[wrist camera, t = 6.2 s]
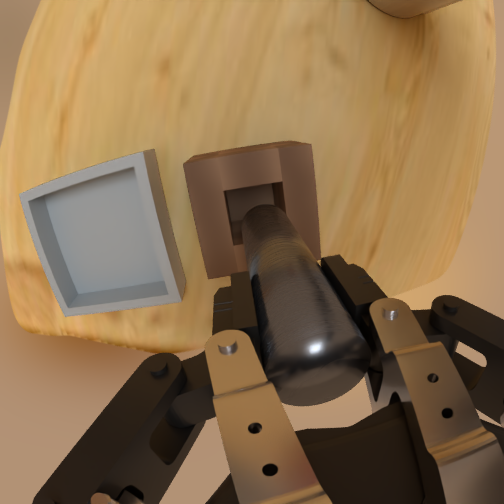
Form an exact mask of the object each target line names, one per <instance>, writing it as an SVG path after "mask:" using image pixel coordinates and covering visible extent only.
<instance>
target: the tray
mask: <svg viewBox="0 0 504 504" xmlns="http://www.w3.org/2000/svg"><path fill="white" fill-rule="evenodd" d="M19 196H20V200H21V204H22V207H23V211H24V214H25V218H26V221H27V224H28V227H29V230H30V234H31V237H32V239H33V242H34V245H35V248H36V251H37V253H38V256H39V259H40V261H41V264H42V266H43V269H44V271H45V274H46V276H47V279H48V281H49V283H50V286H51V288H52V290H53V292H54V295H55V297H56V299H57V301H58V303H59V305H60V307H61V310H62V312H63V314H64V316H65V317H67V316H77V315H86V314H94V313H103V312H111V311H119V310H127V309H135V308H142V307H150V306H157V305H164V304H171V303H178V302H182V298H183V293H184V289H185V284H186V279H185V276H184V272H183V268H182V265H181V261H180V257H179V254H178V250H177V246H176V242H175V238H174V234H173V230H172V226H171V222H170V218H169V214H168V210H167V206H166V201H165V197H164V193H163V188H162V183H161V179H160V174H159V169H158V165H157V160H156V155H155V150H154V149H151V150H147V151H143V152H139V153H135V154H132V155H128V156H124V157H121V158H117V159H114V160H111V161H107V162H104V163H101V164H98V165H95V166H92V167H88V168H85V169H82V170H80V171H77V172H74V173H71V174H68V175H65V176H63V177H60V178H57V179H55V180H52V181H49V182H47V183H44V184H42V185H39V186H37V187H34V188H32V189H30V190H27V191H25V192H23V193H20V194H19Z"/></svg>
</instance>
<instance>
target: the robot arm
mask: <svg viewBox="0 0 504 504" xmlns="http://www.w3.org/2000/svg"><path fill="white" fill-rule="evenodd" d="M368 1H369V2H371V3H372V4H373V5H374V6H376V7H377V8H378V9H380V10H382V11H383V12H385V13H387V14H389V15H392V16H395V17H399V18H411V17H414V16H416V15H419V14H421V13H423V14H427V13H429V12H432V11H434V10H437V9H439V8H442V7H445V6H448V5H450V4H453V3H456V2H459V1H462V0H368ZM321 268H322V270H323V272H324V273H325V275H326V276H327V278H328V280H329V281H330V283H331V284H332V286H333V287H334V289H335V291H336V292H337V294H338V296H339V297H340V299H341V300H342V302H343V304H344V305H345V307H346V309H347V310H348V312H349V313H350V315H351V317H352V318H353V320H354V322H355V323H356V325H357V327H358V328H359V330H360V332H361V333H362V335H363V337H364V339H365V340H366V342H367V344H368V345H369V347H370V350H371V362H370V366H369V368H368V370H367V372H366V374H365V375H364V377H365V381H366V385H367V389H368V393H369V398H370V402H371V407H372V415H370V416H368V417H366V418H365V419H363V420H361V421H359V422H358V423H356V424H354V425H352V426H349V427H343V428H320V429H305V430H300V431H294V429H293V427H292V425H291V423H290V421H289V419H288V416H287V414H286V412H285V410H284V408H283V405H282V403H281V401H280V399H279V396H278V394H277V392H276V390H275V387H274V385H273V383H272V382H271V381H268V380H267V378H266V375H265V373H264V371H263V366H262V359H261V353H260V345H261V341H260V335H259V329H258V323H257V317H256V311H255V305H254V299H253V293H252V287H251V281H250V275H249V271H244V272H238V273H232V274H231V286H229V287H223V288H219V290H218V291H217V292H216V294H215V295H214V307H213V312H214V313H213V330H212V337H210V338H209V339H208V341H207V342H206V344H205V350H204V351H203V352H202V353H200V354H199V355H197V356H194V357H192V358H189V359H186V360H183V361H180V359H179V358H178V357H177V356H176V355H174V354H171V353H159V354H155V355H153V356H150V357H149V358H147V359H146V360H144V361H143V362H142V364H141V365H140V366H139V367H138V368H137V370H136V371H135V372H134V373H133V374H132V376H131V377H130V378H129V379H128V380H127V382H126V383H125V384H124V385H123V387H122V388H121V389H120V390H119V391H118V393H117V394H116V395H115V397H114V398H113V399H112V400H111V401H110V403H109V404H108V405H107V406H106V407H105V409H104V410H103V411H102V412H101V414H100V415H99V416H98V417H97V419H96V420H95V421H94V422H93V424H92V425H91V426H90V427H89V429H88V430H87V431H86V432H85V434H84V435H83V436H82V437H81V439H80V440H79V441H78V442H77V444H76V445H75V446H74V447H73V449H72V450H71V451H70V453H69V454H68V455H67V456H66V457H65V459H64V460H63V461H62V462H61V464H60V465H59V466H58V468H57V469H56V470H55V471H54V473H53V474H52V475H51V477H50V478H49V479H48V480H47V482H46V483H45V484H44V485H43V487H42V488H41V489H40V491H39V492H38V493H37V494H36V496H35V497H34V500H33V503H32V504H159V502H160V501H161V499H162V497H163V496H164V494H165V492H166V491H167V489H168V487H169V485H170V484H171V482H172V480H173V479H174V477H175V475H176V474H177V472H178V470H179V468H180V467H181V465H182V463H183V461H184V460H185V458H186V456H187V455H188V453H189V451H190V449H191V448H192V446H193V444H194V442H195V441H196V439H197V437H198V435H199V433H200V431H201V430H202V428H203V426H204V424H205V421H206V420H208V419H211V418H213V417H217V421H218V425H219V429H220V433H221V438H222V441H223V446H224V450H225V453H226V457H227V461H228V465H229V468H230V472H231V473H230V474H229V475H228V476H227V478H226V479H225V480H224V482H223V483H222V484H221V485H220V487H219V488H218V489H217V490H216V491H215V493H214V494H213V495H212V496H211V497H210V499H209V500H208V501H207V502H206V503H205V504H504V320H503V319H501V318H499V317H497V316H495V315H493V314H491V313H489V312H487V311H485V310H483V309H481V308H479V307H477V306H475V305H473V304H470V303H468V302H466V301H464V300H462V299H460V298H458V297H455V296H451V295H443V296H439V297H437V298H435V299H434V300H433V302H432V306H431V309H428V310H411V309H410V307H409V306H408V305H407V304H406V303H405V302H403V301H401V300H399V299H395V298H388V297H387V296H386V295H385V294H384V292H383V291H382V290H381V289H380V288H379V286H378V285H377V284H376V283H375V282H373V279H372V278H371V277H370V276H369V275H368V274H367V273H366V271H365V270H364V269H363V268H361V267H359V266H357V265H355V264H349V265H348V264H347V263H346V262H345V260H344V259H343V258H342V257H341V256H340V255H334V256H328V257H323V258H321ZM459 341H460V342H462V343H464V344H465V345H467V346H469V347H471V348H473V349H474V350H476V351H478V352H480V353H482V354H483V355H484V356H485V358H486V360H487V365H486V367H481V366H479V365H478V364H476V363H474V362H473V361H471V360H469V359H467V358H466V357H464V356H462V355H460V354H459V353H457V352H455V351H456V348H457V345H458V342H459ZM475 408H476V409H477V410H479V411H480V412H482V413H483V414H485V415H487V416H488V417H490V418H491V419H493V420H494V421H496V422H497V423H499V424H501V426H502V427H500V426H497V425H495V424H492V423H489V422H487V421H484V420H482V419H479V416H478V413H477V411H476V409H475Z"/></svg>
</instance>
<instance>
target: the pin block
mask: <svg viewBox="0 0 504 504" xmlns="http://www.w3.org/2000/svg"><path fill="white" fill-rule="evenodd" d="M183 167H184V172H185V177H186V182H187V187H188V192H189V196H190V201H191V206H192V211H193V215H194V220H195V224H196V229H197V233H198V238H199V242H200V246H201V251H202V255H203V259H204V263H205V267H206V272H207V276H208V279H213V278H219V277H225V276H231V274H232V273H238V272H244V271H248V270H247V263H246V257H245V250H244V244H243V237H242V230H241V225H242V221H243V218H244V216H245V215H246V213H247V212H248V211H249V210H250V209H252V208H253V207H255V206H258V205H261V204H272V205H275V206H277V207H279V208H280V209H282V210H283V211H284V212H285V214H286V215H287V217H288V218H289V220H290V221H291V223H292V224H293V226H294V227H295V229H296V230H297V232H298V233H299V235H300V236H301V238H302V239H303V241H304V242H305V244H306V245H307V247H308V248H309V250H310V251H311V253H312V255H313V256H314V258H315V259H316V260H321V250H320V233H319V218H318V205H317V194H316V183H315V172H314V163H313V154H312V145H311V144H307V143H301V142H295V141H283V142H275V143H267V144H260V145H253V146H246V147H240V148H234V149H228V150H222V151H216V152H211V153H206V154H201V155H195V156H193V157H191V158H190V159H189V160H188V161H186V162H185V163H184V164H183Z"/></svg>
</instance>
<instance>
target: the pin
mask: <svg viewBox="0 0 504 504" xmlns="http://www.w3.org/2000/svg"><path fill="white" fill-rule="evenodd" d="M241 230H242V237H243V244H244V250H245V257H246V263H247V270H248V271H249V275H250V281H251V287H252V293H253V299H254V305H255V311H256V317H257V323H258V329H259V335H260V341H261V345H260V353H261V359H262V366H263V371H264V373H265V375H266V378H267V380H268V381H271V382H272V383H273V385H274V387H275V390H276V392H277V394H278V396H279V399H280V401H281V402H282V403H285V404H288V405H293V406H312V405H318V404H322V403H325V402H328V401H331V400H333V399H336V398H338V397H340V396H342V395H343V394H345V393H347V392H348V391H349V390H351V389H352V388H353V387H354V386H356V385H357V384H358V383H359V382H360V380H361V379H362V378H363V377H364V375H365V374H366V372H367V370H368V368H369V366H370V362H371V350H370V347H369V345H368V344H367V342H366V340H365V339H364V337H363V335H362V333H361V332H360V330H359V328H358V327H357V325H356V323H355V322H354V320H353V318H352V317H351V315H350V313H349V312H348V310H347V309H346V307H345V305H344V304H343V302H342V300H341V299H340V297H339V296H338V294H337V292H336V291H335V289H334V287H333V286H332V284H331V283H330V281H329V280H328V278H327V276H326V275H325V273H324V272H323V270H322V268H321V267H320V265H319V264H318V262H317V261H316V259H315V258H314V256H313V255H312V253H311V251H310V250H309V248H308V247H307V245H306V244H305V242H304V241H303V239H302V238H301V236H300V235H299V233H298V232H297V230H296V229H295V227H294V226H293V224H292V223H291V221H290V220H289V218H288V217H287V215H286V214H285V212H284V211H283V210H282V209H280V208H279V207H277V206H275V205H272V204H261V205H258V206H255V207H253V208H252V209H250V210H249V211H248V212H247V213H246V215H245V216H244V218H243V221H242V225H241Z"/></svg>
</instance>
